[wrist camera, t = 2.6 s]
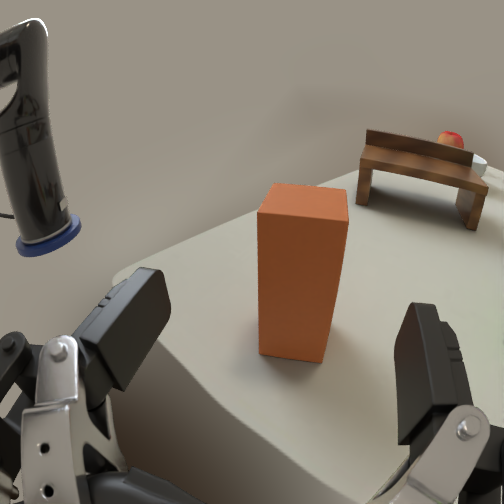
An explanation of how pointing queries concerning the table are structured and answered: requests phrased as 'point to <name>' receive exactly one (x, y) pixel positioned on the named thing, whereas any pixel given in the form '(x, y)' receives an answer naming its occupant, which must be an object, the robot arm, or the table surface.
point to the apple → (451, 139)
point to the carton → (299, 268)
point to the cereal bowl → (478, 165)
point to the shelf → (423, 169)
